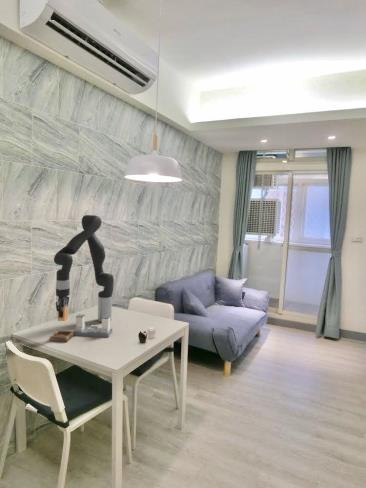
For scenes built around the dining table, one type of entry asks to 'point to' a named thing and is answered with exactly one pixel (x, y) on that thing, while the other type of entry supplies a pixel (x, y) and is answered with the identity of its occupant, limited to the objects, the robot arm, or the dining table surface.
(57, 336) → the tray
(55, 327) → the dining table surface
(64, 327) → the dining table surface
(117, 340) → the dining table surface
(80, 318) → the fuse block
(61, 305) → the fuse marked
